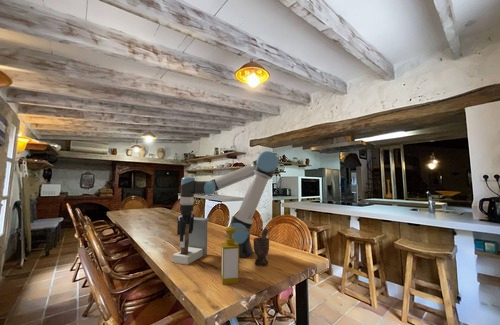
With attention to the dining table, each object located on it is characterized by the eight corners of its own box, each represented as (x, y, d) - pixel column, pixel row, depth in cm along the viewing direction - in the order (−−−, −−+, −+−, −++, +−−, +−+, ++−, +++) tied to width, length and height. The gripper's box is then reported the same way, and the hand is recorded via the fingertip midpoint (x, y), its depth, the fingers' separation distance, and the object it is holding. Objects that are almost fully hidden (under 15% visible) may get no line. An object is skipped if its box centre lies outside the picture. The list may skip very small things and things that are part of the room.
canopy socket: (208, 254, 130) (208, 218, 132) (190, 265, 113) (191, 223, 115) (188, 251, 135) (189, 217, 137) (169, 261, 118) (170, 222, 120)
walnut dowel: (189, 252, 122) (190, 224, 123) (185, 255, 118) (186, 225, 119) (183, 252, 123) (184, 223, 124) (178, 254, 119) (180, 224, 121)
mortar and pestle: (276, 266, 112) (276, 227, 114) (264, 270, 107) (264, 229, 109) (262, 259, 122) (262, 224, 124) (250, 263, 117) (250, 225, 118)
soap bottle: (251, 281, 95) (251, 227, 97) (222, 284, 92) (223, 228, 94) (247, 274, 102) (248, 224, 104) (221, 277, 99) (221, 225, 101)
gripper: (190, 202, 132) (188, 241, 130) (171, 205, 116) (168, 249, 114) (200, 203, 130) (198, 243, 127) (183, 205, 114) (180, 251, 111)
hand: (184, 246), depth 121 cm, fingers closed on walnut dowel, 4 cm apart
